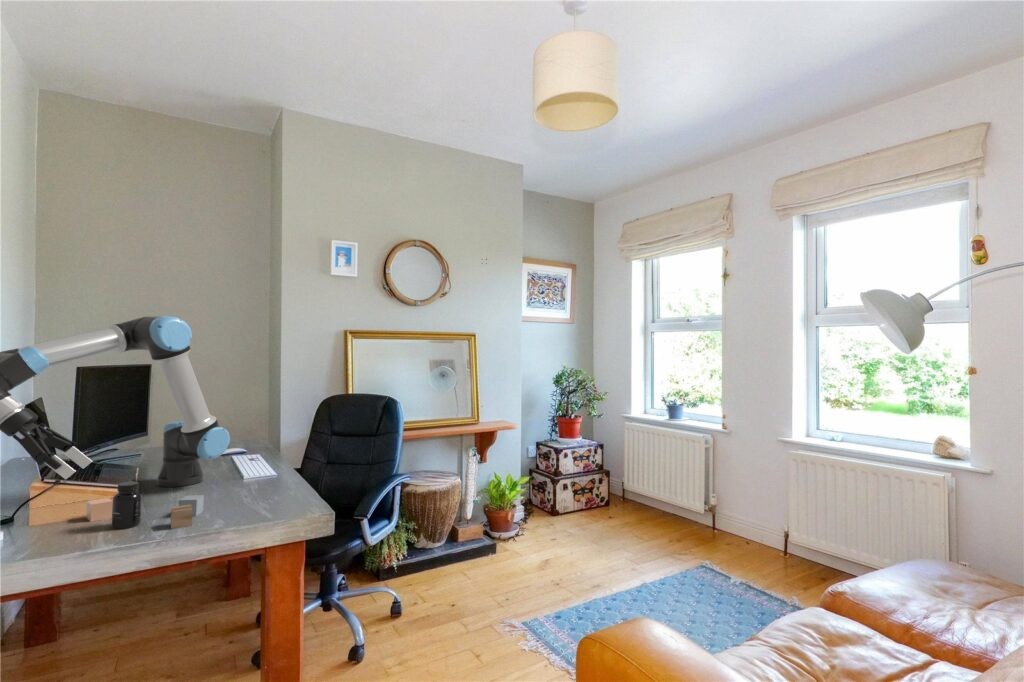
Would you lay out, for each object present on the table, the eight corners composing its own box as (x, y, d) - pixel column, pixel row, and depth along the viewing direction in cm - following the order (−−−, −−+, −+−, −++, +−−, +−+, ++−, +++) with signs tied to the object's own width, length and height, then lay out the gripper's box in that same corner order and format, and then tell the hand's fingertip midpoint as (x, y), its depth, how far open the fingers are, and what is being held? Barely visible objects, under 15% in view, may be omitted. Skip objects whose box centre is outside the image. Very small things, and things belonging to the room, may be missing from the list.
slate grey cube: (185, 511, 161) (186, 495, 161) (203, 511, 162) (203, 495, 162) (178, 516, 156) (178, 500, 156) (196, 516, 157) (196, 499, 157)
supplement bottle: (106, 530, 143) (108, 487, 143) (118, 522, 149) (119, 481, 150) (135, 528, 145) (136, 485, 145) (145, 521, 151) (146, 479, 151)
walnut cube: (170, 524, 149) (171, 507, 149) (190, 521, 152) (191, 504, 152) (171, 529, 145) (171, 511, 145) (191, 526, 148) (192, 509, 148)
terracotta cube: (86, 518, 153) (87, 501, 153) (107, 514, 157) (108, 497, 157) (90, 521, 150) (91, 504, 150) (111, 517, 153) (112, 501, 154)
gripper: (19, 421, 147) (82, 470, 153) (-28, 434, 124) (49, 491, 130) (44, 402, 149) (105, 451, 155) (3, 411, 127) (76, 469, 132)
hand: (80, 470), depth 142 cm, fingers open, 13 cm apart
